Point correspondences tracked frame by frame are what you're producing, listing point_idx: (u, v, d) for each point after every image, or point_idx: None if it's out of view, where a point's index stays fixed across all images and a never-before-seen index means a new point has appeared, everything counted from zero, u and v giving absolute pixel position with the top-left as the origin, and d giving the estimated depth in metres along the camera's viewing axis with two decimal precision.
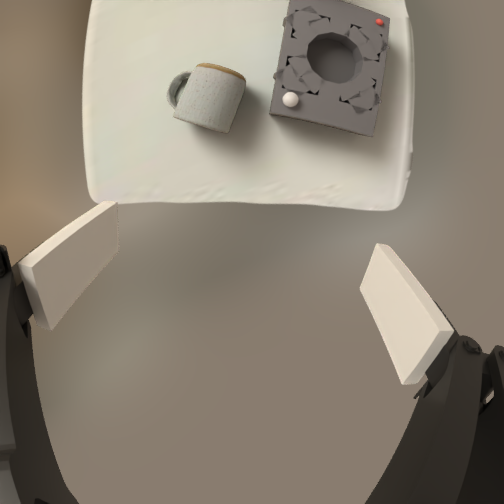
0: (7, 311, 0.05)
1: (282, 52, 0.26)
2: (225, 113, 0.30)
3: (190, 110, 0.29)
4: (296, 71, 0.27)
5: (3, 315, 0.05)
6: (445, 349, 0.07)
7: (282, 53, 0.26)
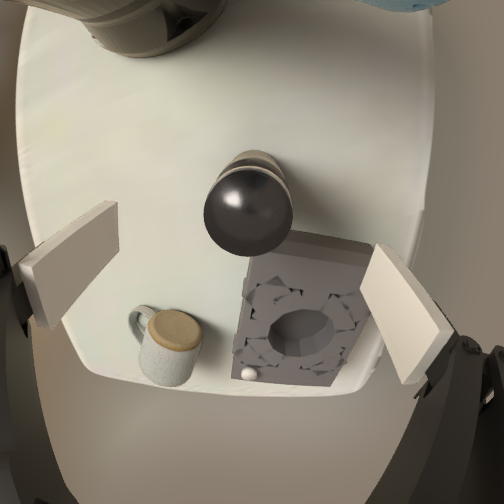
0: (7, 311, 0.05)
1: (240, 334, 0.28)
2: (185, 375, 0.32)
3: (152, 375, 0.31)
4: (256, 350, 0.29)
5: (3, 315, 0.05)
6: (445, 348, 0.07)
7: (240, 335, 0.28)
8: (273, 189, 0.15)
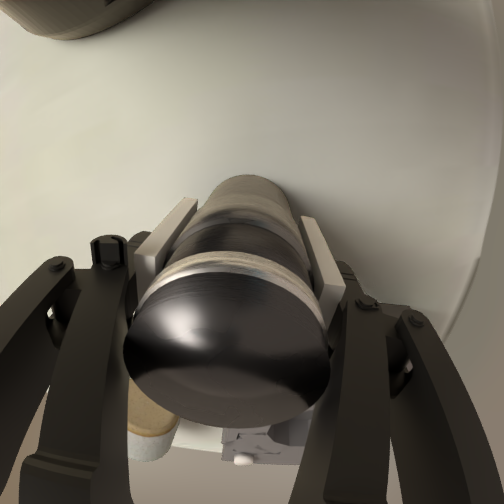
0: (118, 309, 0.06)
1: (230, 430, 0.18)
2: (161, 451, 0.22)
3: None
4: (252, 441, 0.20)
5: (112, 313, 0.06)
6: (339, 305, 0.09)
7: (230, 431, 0.18)
8: (289, 336, 0.05)
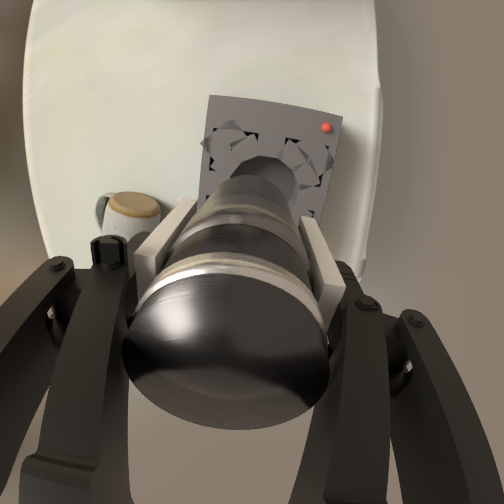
0: (117, 309, 0.06)
1: (200, 191, 0.28)
2: None
3: None
4: None
5: (112, 313, 0.06)
6: (339, 306, 0.09)
7: (200, 193, 0.28)
8: (288, 338, 0.05)
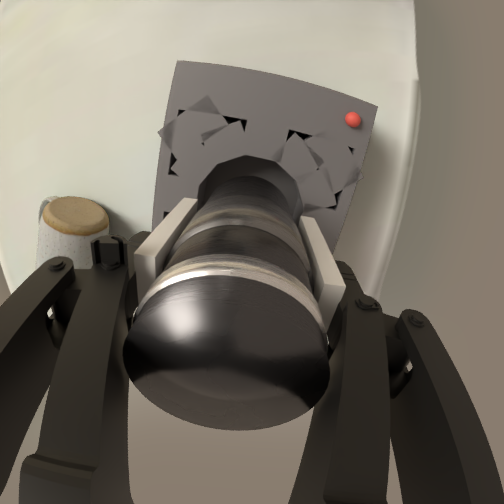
0: (118, 309, 0.06)
1: (155, 205, 0.18)
2: None
3: None
4: None
5: (112, 313, 0.06)
6: (339, 305, 0.09)
7: (155, 207, 0.18)
8: (289, 340, 0.05)
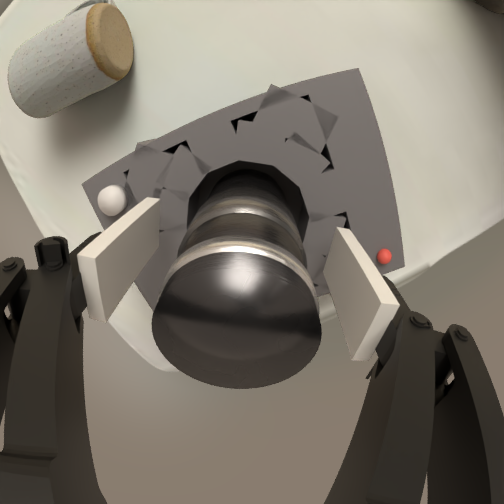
0: (62, 306, 0.06)
1: (186, 127, 0.14)
2: (41, 97, 0.12)
3: (20, 56, 0.09)
4: (167, 174, 0.15)
5: (58, 310, 0.06)
6: (392, 323, 0.08)
7: (184, 129, 0.14)
8: (286, 299, 0.07)
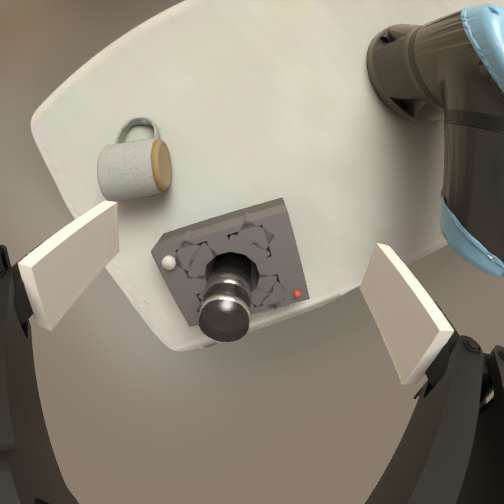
0: (7, 311, 0.05)
1: (207, 235, 0.34)
2: (122, 196, 0.31)
3: (106, 169, 0.28)
4: (197, 254, 0.35)
5: (3, 315, 0.05)
6: (445, 349, 0.07)
7: (205, 236, 0.34)
8: (237, 313, 0.27)
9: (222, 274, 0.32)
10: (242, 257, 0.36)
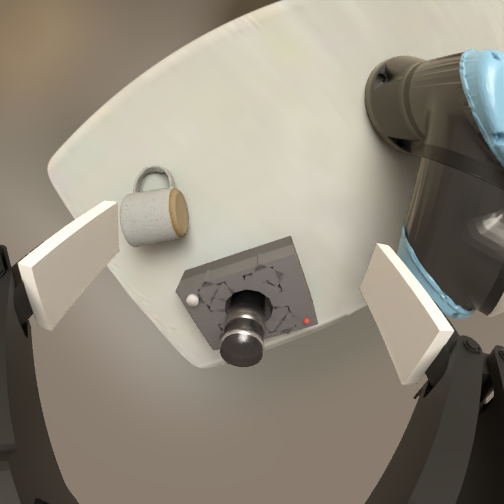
0: (7, 311, 0.05)
1: (225, 277, 0.38)
2: (145, 243, 0.36)
3: (128, 221, 0.34)
4: (217, 292, 0.40)
5: (3, 315, 0.05)
6: (445, 349, 0.07)
7: (224, 277, 0.38)
8: (252, 344, 0.32)
9: (239, 310, 0.36)
10: (256, 291, 0.41)
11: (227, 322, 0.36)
